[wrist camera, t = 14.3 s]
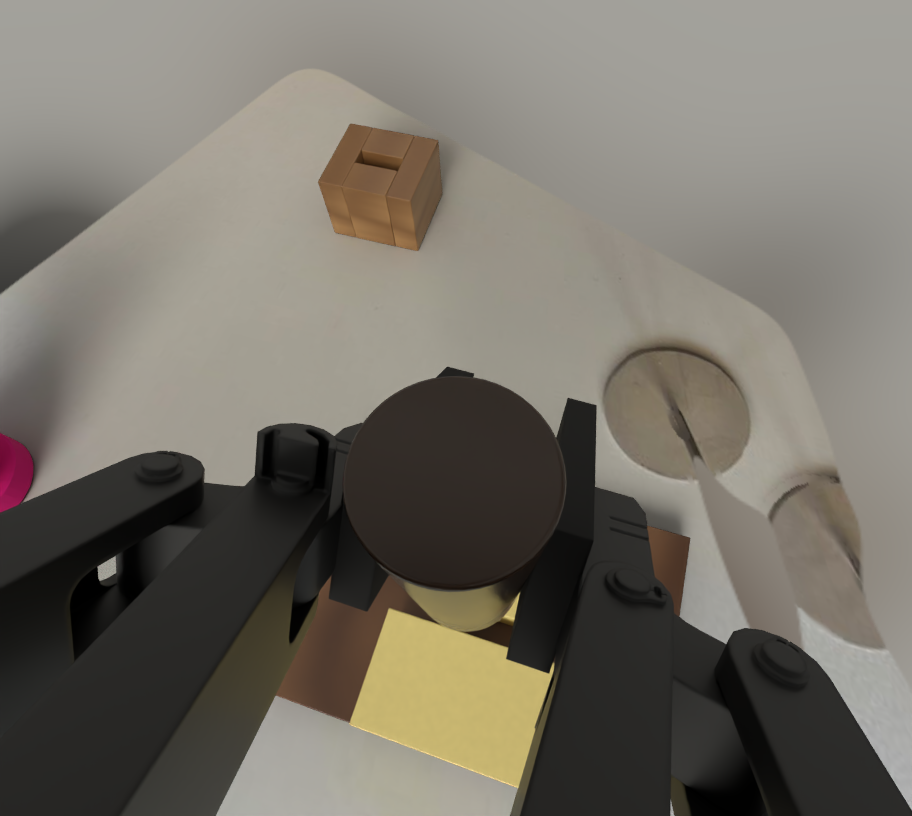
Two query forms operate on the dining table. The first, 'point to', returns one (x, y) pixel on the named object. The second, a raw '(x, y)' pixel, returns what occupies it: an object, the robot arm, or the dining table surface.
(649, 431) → the dining table surface
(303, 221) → the dining table surface
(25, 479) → the pepper mill
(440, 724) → the butter block
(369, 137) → the knife stand
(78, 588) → the robot arm
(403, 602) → the butter board
